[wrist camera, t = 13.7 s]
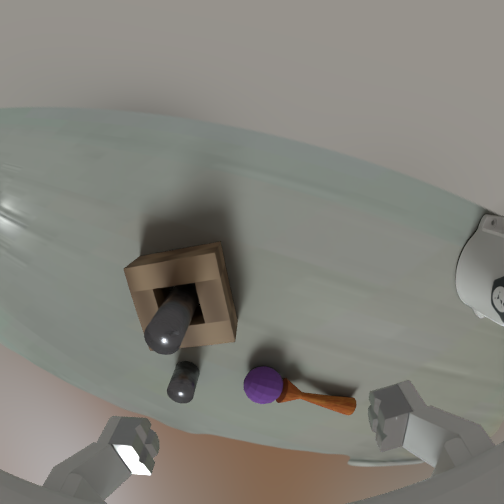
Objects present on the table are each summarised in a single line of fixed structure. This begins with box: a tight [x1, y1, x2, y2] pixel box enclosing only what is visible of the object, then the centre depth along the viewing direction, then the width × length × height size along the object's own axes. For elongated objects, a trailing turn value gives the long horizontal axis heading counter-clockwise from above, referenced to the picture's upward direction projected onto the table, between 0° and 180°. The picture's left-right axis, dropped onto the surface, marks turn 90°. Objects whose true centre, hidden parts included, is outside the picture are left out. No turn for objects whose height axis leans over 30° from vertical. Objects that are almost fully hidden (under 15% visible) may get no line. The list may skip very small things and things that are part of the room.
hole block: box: [124, 241, 238, 351], centre depth 41 cm, size 12×12×6 cm
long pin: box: [144, 283, 199, 355], centre depth 37 cm, size 4×4×14 cm
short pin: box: [167, 361, 199, 403], centre depth 44 cm, size 4×4×6 cm
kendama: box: [244, 366, 356, 415], centre depth 46 cm, size 6×6×20 cm
